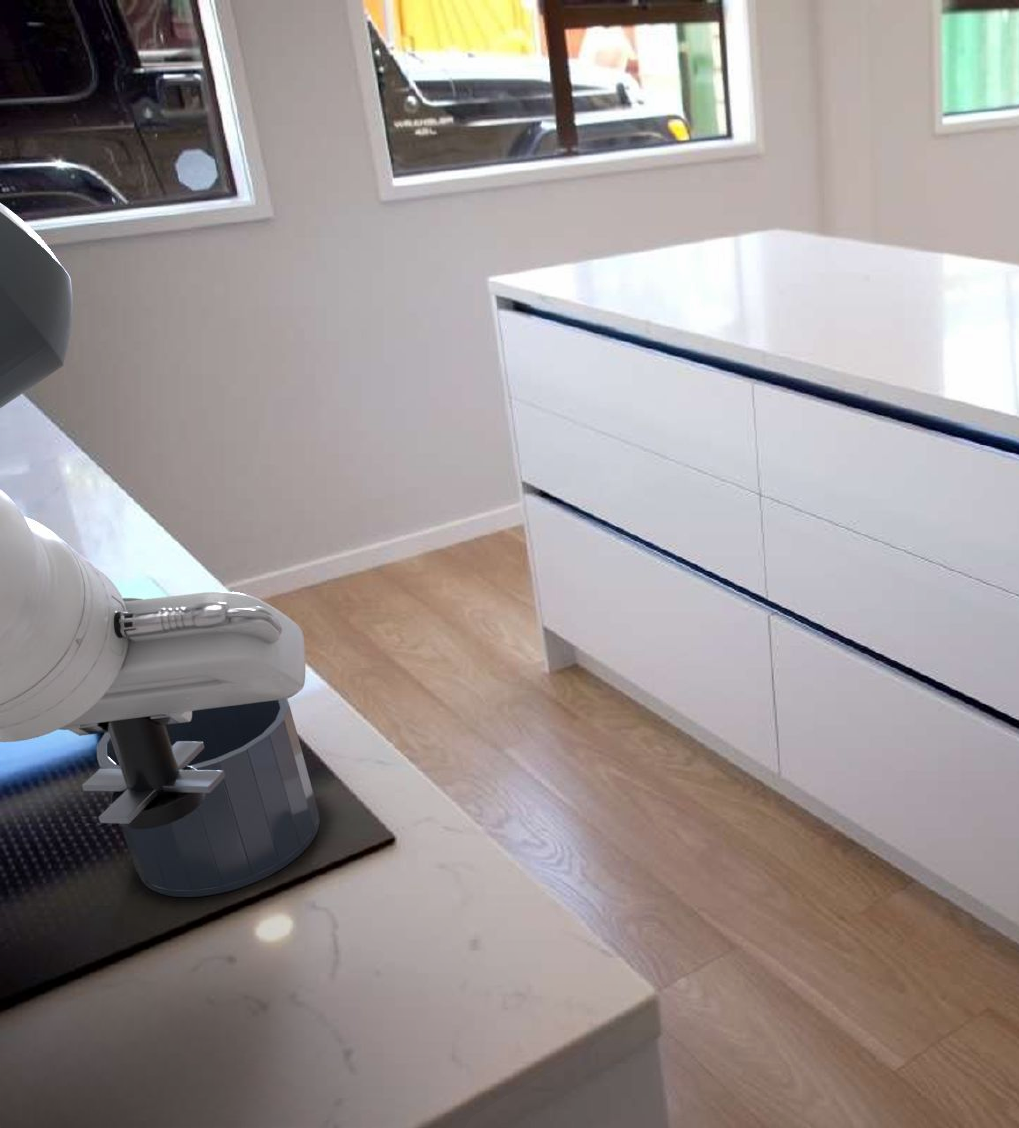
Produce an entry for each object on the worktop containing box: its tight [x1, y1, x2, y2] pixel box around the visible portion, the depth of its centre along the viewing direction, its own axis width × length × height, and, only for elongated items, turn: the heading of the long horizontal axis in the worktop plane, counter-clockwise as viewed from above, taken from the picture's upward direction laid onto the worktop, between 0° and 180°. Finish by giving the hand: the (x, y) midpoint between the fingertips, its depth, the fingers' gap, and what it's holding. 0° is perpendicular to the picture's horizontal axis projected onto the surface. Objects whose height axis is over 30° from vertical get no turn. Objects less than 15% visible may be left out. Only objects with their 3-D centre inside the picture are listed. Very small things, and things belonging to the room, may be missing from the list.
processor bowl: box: [96, 698, 321, 898], centre depth 87 cm, size 12×12×10 cm
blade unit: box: [81, 716, 225, 829], centre depth 68 cm, size 7×7×10 cm
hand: (137, 714), depth 68 cm, fingers closed on blade unit, 2 cm apart
